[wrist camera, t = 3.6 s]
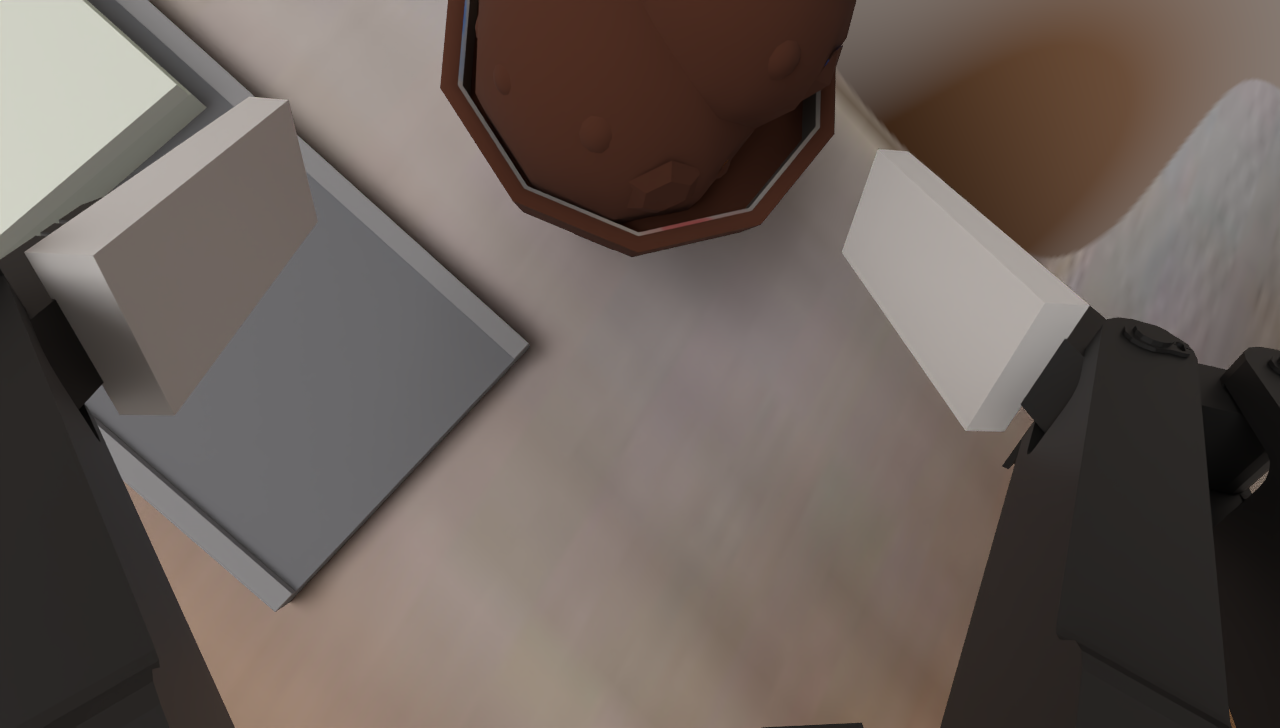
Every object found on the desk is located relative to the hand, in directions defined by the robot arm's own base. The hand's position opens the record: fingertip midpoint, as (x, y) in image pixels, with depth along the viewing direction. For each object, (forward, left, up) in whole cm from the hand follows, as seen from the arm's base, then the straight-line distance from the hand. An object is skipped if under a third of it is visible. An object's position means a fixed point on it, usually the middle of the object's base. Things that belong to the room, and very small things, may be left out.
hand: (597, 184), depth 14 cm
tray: (+12, +10, -11) cm, 19 cm away
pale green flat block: (+19, +10, -11) cm, 24 cm away
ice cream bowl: (+2, -4, -11) cm, 12 cm away
